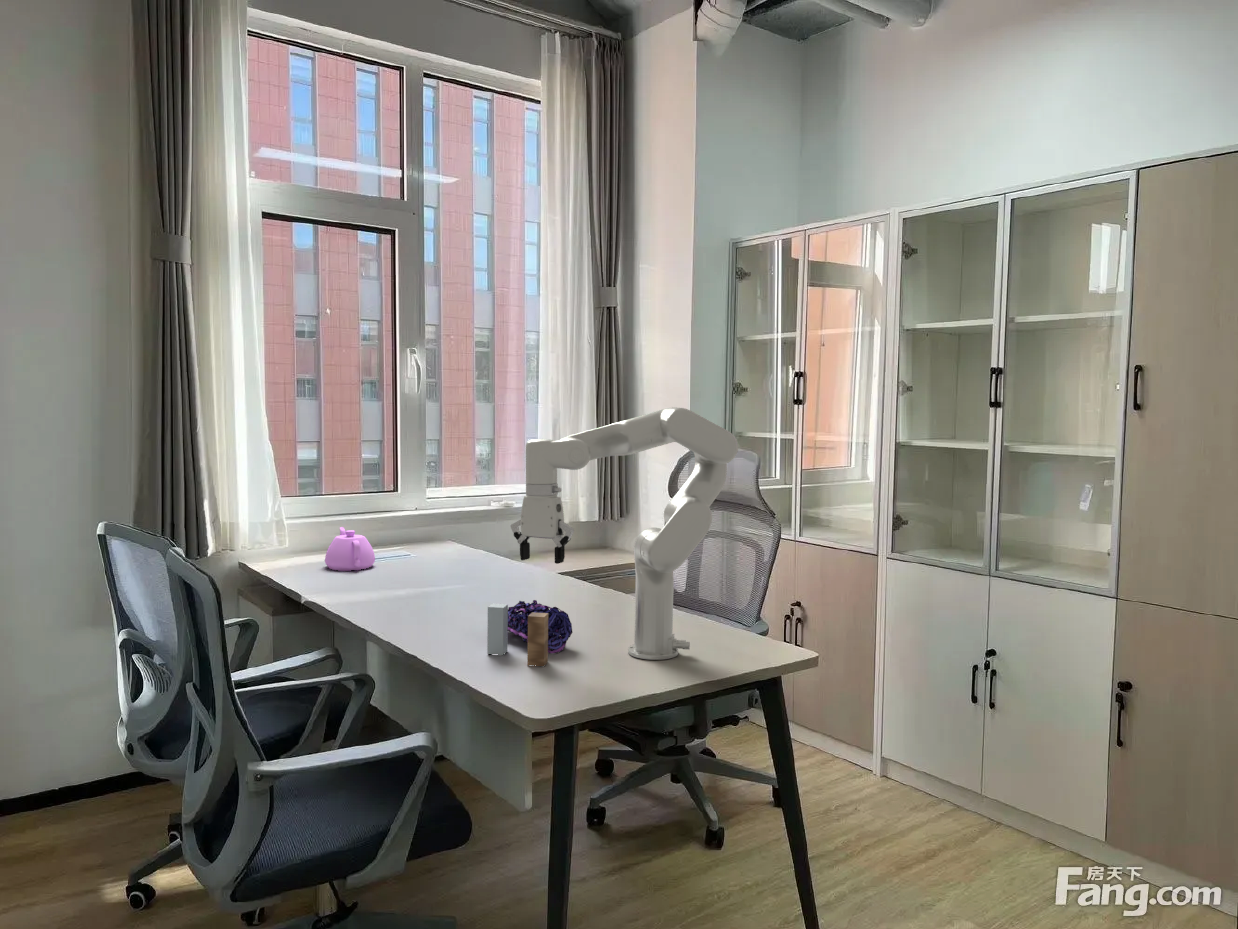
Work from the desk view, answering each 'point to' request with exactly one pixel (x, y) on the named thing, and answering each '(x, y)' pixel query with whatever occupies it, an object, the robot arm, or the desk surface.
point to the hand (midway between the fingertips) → (542, 561)
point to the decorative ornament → (556, 623)
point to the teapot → (349, 552)
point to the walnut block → (537, 639)
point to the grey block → (497, 629)
